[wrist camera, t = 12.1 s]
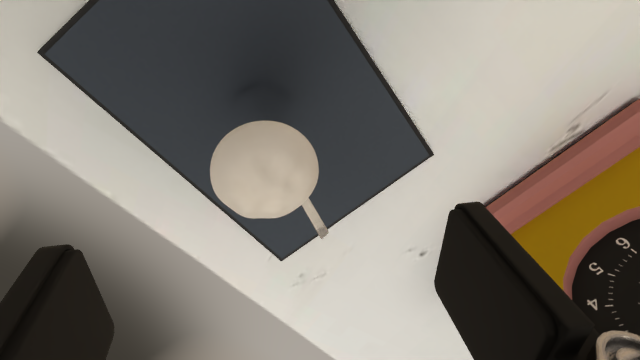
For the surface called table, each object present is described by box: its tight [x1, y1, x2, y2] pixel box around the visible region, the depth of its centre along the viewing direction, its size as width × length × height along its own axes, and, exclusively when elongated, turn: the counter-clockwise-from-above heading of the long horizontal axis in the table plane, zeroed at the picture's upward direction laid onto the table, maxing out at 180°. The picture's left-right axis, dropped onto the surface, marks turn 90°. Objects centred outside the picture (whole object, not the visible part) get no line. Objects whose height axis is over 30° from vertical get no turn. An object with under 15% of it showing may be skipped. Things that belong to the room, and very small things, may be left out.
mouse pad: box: [37, 0, 434, 261], centre depth 23 cm, size 20×14×1 cm
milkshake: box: [210, 85, 328, 239], centre depth 19 cm, size 5×5×10 cm
